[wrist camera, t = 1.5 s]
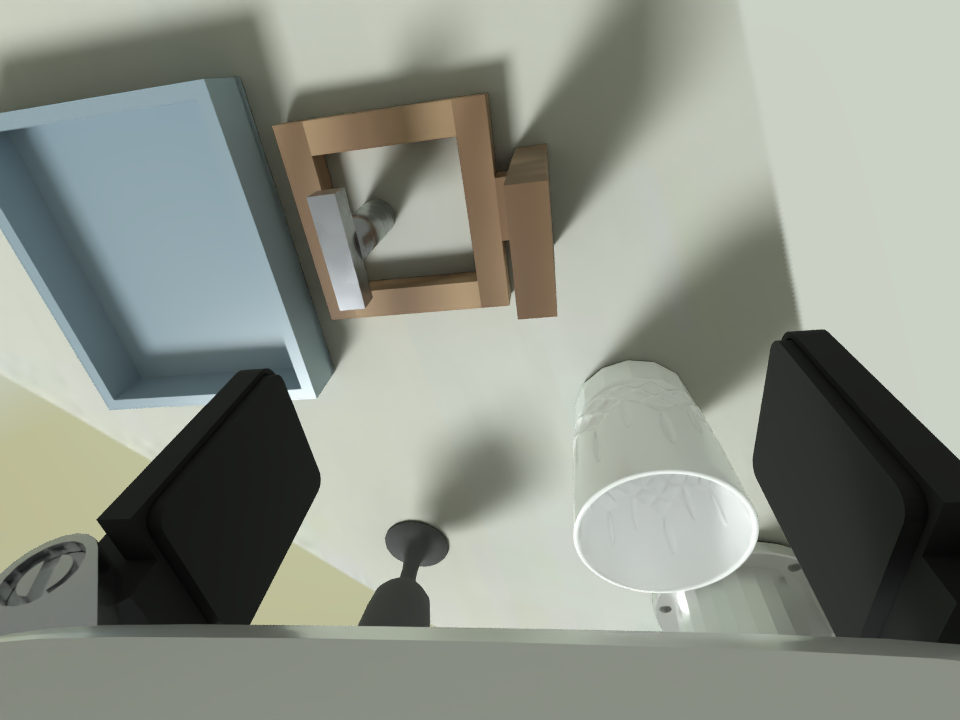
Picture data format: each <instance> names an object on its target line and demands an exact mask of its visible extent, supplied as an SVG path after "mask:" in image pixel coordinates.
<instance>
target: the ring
mask: <svg viewBox="0 0 960 720" xmlns="http://www.w3.org/2000/svg"><path fill="white" fill-rule="evenodd" d="M272 128H273V131H274V134H275V137H276V141H277V144H278V147H279V150H280V153H281V157H282V160H283V163H284V166H285V170H286V173H287V176H288V179H289V183H290V186H291V189H292V192H293V196H294V199H295V202H296V205H297V209H298V212H299V215H300V218H301V222H302V225H303V228H304V231H305V235H306V238H307V241H308V244H309V248H310V251H311V254H312V257H313V261H314V264H315V267H316V270H317V274H318V277H319V280H320V283H321V287H322V290H323V293H324V296H325V300H326V303H327V306H328V309H329V313H330V316H331V319H332V320H336V319H349V318H361V317H373V316H386V315H398V314H410V313H423V312H435V311H447V310H460V309H472V308H484V307H497V306H509V305H510V298H511V289H510V281H509V272H508V263H507V254H506V246H505V241H506V240H509V243H510V252H511V261H512V270H513V279H514V288H515V297H516V306H517V315H518V319H529V318H542V317H555V316H557V301H556V281H555V262H554V243H553V229H552V214H551V199H550V184H549V169H548V154H547V144H540V145H532V146H524V147H517V148H515V150H514V153H513V156H512V160H511V163H510V166H509V169H508V171H501V172H497V167H496V158H495V150H494V141H493V132H492V123H491V115H490V106H489V97H488V93H481V94H474V95H467V96H461V97H454V98H447V99H440V100H434V101H427V102H420V103H414V104H407V105H400V106H393V107H387V108H380V109H373V110H367V111H360V112H353V113H346V114H340V115H333V116H326V117H319V118H313V119H306V120H299V121H293V122H286V123H282V124H278V125H274V126H272ZM455 136H456V138H457V144H458V151H459V158H460V165H461V172H462V178H463V185H464V192H465V199H466V206H467V212H468V219H469V226H470V233H471V240H472V246H473V253H474V260H475V267H476V272H465V273H454V274H444V275H433V276H422V277H411V278H400V279H390V280H379V281H369V284H370V288H371V292H372V296H373V299H372V300H371V301H370V303H369V304H368V306H367V307H366V308H365V309H355V310H343V311H340V309H339V306H338V303H337V299H336V296H335V292H334V289H333V286H332V282H331V279H330V276H329V272H328V269H327V265H326V262H325V259H324V255H323V252H322V249H321V245H320V242H319V238H318V235H317V232H316V228H315V225H314V222H313V218H312V215H311V211H310V208H309V205H308V201H307V198H306V197H308V196H309V195H311V194H313V193H314V192H316V191H319V190H327V189H333V185H332V181H331V177H330V174H329V170H328V166H327V163H326V159H325V155H324V154H330V153H338V152H345V151H352V150H360V149H367V148H374V147H382V146H389V145H396V144H404V143H411V142H418V141H426V140H433V139H440V138H448V137H455Z"/></svg>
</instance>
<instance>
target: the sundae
mask: <svg viewBox="0 0 960 720" xmlns="http://www.w3.org/2000/svg"><path fill="white" fill-rule="evenodd" d="M385 542H386V546H387V549H388V550H389V552H390V553H391V554H392V555H393V556H394V557H395V558H397V559H398V560H400V561H402V562H404V563H403V569H402V572H401V576H400V577H399V578H395V579H391V580H389V581H387V582H385V583H384V584H382V585H381V586H379V587H378V588H377V590H376V592H375V593H374V595H373V597H372V598H371V600H370V602H369V604H368V605H367V607H366V610H365V612H364V614H363V616H362V618H361V620H360V622H359V625H358V626H386V627H430V601H429V597H428V596H427V594H426V593H425V591H424V590H423V588H422V587H421V586H420V585H419V584H418V583H417V582H416V575H417V571H418V568H419V566H431V565H435V564H437V563H439V562H440V561H441V560H443V559H444V558H445V556H446V555H447V552H448V543H447V541H446V539H445V537H444V536H443V535H442V534H441V533H440V532H439V531H438V530H436V529H435V528H433V527H432V526H429V525H427V524H423V523H420V522H404V523H400V524H397V525H395V526H393V527H392V528H391V529H390V530H389V531H388V532H387V534H386V537H385Z"/></svg>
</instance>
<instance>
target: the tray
mask: <svg viewBox="0 0 960 720" xmlns="http://www.w3.org/2000/svg"><path fill="white" fill-rule="evenodd" d="M0 229H1V230H2V232H3V234H4V235H5V237H6V239H7V240H8V242H9V244H10V245H11V247H12V249H13V250H14V252H15V254H16V255H17V257H18V259H19V260H20V262H21V264H22V265H23V267H24V269H25V270H26V272H27V274H28V275H29V277H30V279H31V280H32V282H33V284H34V285H35V287H36V289H37V290H38V292H39V294H40V295H41V297H42V299H43V300H44V302H45V304H46V305H47V307H48V309H49V310H50V312H51V314H52V315H53V317H54V319H55V320H56V322H57V324H58V325H59V327H60V329H61V330H62V332H63V334H64V335H65V337H66V339H67V340H68V342H69V344H70V345H71V347H72V349H73V350H74V352H75V354H76V355H77V357H78V359H79V360H80V362H81V364H82V365H83V367H84V368H85V370H86V372H87V373H88V375H89V377H90V378H91V380H92V382H93V383H94V385H95V387H96V388H97V390H98V392H99V393H100V395H101V397H102V398H103V400H104V402H105V403H106V405H107V407H108V408H109V410H119V409H137V408H155V407H173V406H191V405H207V403H208V402H209V401H210V400H211V399H212V398H213V397H214V396H215V395H216V394H217V393H218V392H219V391H220V390H221V389H222V388H223V387H224V386H225V385H226V384H227V383H228V381H229V380H230V379H231V378H232V377H233V376H234V375H235V374H236V373H237V372H239V371H240V370H249V369H263V368H269V369H271V370H272V371H273V372H274V373H275V374H276V375H280V376H281V377H282V378H283V380H284V382H285V385H286V387H287V390H288V392H289V395H290V398H291V400H299V399H317V397H318V396H319V394H320V393H321V391H322V390H323V388H324V387H325V385H326V384H327V382H328V381H329V379H330V378H331V376H332V375H333V373H334V372H335V371H334V368H333V365H332V361H331V358H330V355H329V352H328V349H327V346H326V343H325V340H324V337H323V334H322V330H321V327H320V324H319V321H318V318H317V315H316V312H315V309H314V306H313V302H312V299H311V296H310V293H309V290H308V287H307V284H306V281H305V278H304V275H303V271H302V268H301V265H300V262H299V259H298V256H297V253H296V250H295V247H294V243H293V240H292V237H291V234H290V231H289V228H288V225H287V222H286V219H285V216H284V212H283V209H282V206H281V203H280V200H279V197H278V194H277V191H276V188H275V185H274V181H273V178H272V175H271V172H270V169H269V166H268V163H267V160H266V157H265V153H264V150H263V147H262V144H261V141H260V138H259V135H258V132H257V129H256V126H255V122H254V119H253V116H252V113H251V110H250V107H249V104H248V101H247V98H246V95H245V91H244V88H243V85H242V82H241V79H240V77H225V78H209V79H200V80H194V81H188V82H182V83H176V84H170V85H164V86H158V87H152V88H146V89H140V90H134V91H128V92H122V93H117V94H111V95H105V96H99V97H93V98H87V99H81V100H75V101H69V102H63V103H57V104H51V105H45V106H39V107H33V108H27V109H21V110H15V111H9V112H4V113H0Z"/></svg>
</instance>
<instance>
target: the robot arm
mask: <svg viewBox="0 0 960 720" xmlns="http://www.w3.org/2000/svg"><path fill="white" fill-rule="evenodd" d="M753 469H754V473H755V476H756V479H757V481H758V483H759V485H760V487H761V489H762V491H763V493H764V495H765V497H766V499H767V501H768V503H769V505H770V507H771V509H772V511H773V513H774V515H775V517H776V519H777V521H778V522H779V524H780V526H781V528H782V530H783V532H784V534H785V536H786V538H787V540H788V542H789V544H790V546H791V548H790V547H786V546H782V545H779V544H773V543H764V542H757V543H756V545H755V547H754V549H753V551H752V553H751V554H750V556H749V557H748V558H747V560H746V561H745V562H744V563H743V564H742V565H741V566H740V567H739V568H737V569H736V570H735V571H734V572H732V573H731V574H729V575H728V576H726V577H724V578H723V579H721V580H719V581H717V582H714V583H712V584H709V585H707V586H704V587H701V588H697V589H693V590H689V591H683V592H675V593H653V599H652V602H653V608H654V614H655V617H656V620H657V623H658V625H659V627H660V628H661V629H662V631H663V632H655V631H610V630H564V629H508V628H451V627H386V626H310V625H307V626H306V625H250V623H251V621H252V620H253V618H254V616H255V614H256V612H257V610H258V608H259V606H260V604H261V602H262V600H263V598H264V596H265V594H266V592H267V590H268V588H269V586H270V584H271V582H272V580H273V579H274V576H275V575H276V573H277V571H278V569H279V567H280V565H281V563H282V561H283V559H284V557H285V555H286V553H287V551H288V549H289V547H290V545H291V543H292V541H293V539H294V537H295V536H296V534H297V532H298V530H299V528H300V526H301V524H302V522H303V520H304V518H305V516H306V514H307V512H308V510H309V508H310V506H311V504H312V502H313V500H314V498H315V496H316V494H317V493H318V490H319V488H320V481H321V478H320V472H319V469H318V467H317V464H316V462H315V459H314V457H313V454H312V451H311V449H310V446H309V444H308V441H307V439H306V436H305V433H304V431H303V428H302V426H301V423H300V421H299V418H298V416H297V413H296V410H295V408H294V405H293V403H292V400H291V398H290V395H289V392H288V390H287V387H286V385H285V382H284V380H283V378H282V377H281V376H280V375H276V374H275V373H274V372H273V371H272V370H271V369H269V368H263V369H249V370H240V371H239V372H237V373H236V374H235V375H234V376H233V377H232V378H231V379H230V380H229V381H228V383H227V384H226V385H225V386H224V387H223V388H222V389H221V390H220V391H219V392H218V393H217V394H216V395H215V396H214V397H213V398H212V399H211V400H210V401H209V402H208V403H207V405H206V406H205V407H204V408H203V409H202V410H201V411H200V412H199V413H198V414H197V415H196V416H195V417H194V418H193V419H192V420H191V421H190V422H189V423H188V424H187V425H186V426H185V428H184V429H183V430H182V431H181V432H180V433H179V434H178V435H177V436H176V437H175V438H174V439H173V440H172V441H171V442H170V443H169V444H168V445H167V446H166V447H165V448H164V449H163V451H162V452H161V453H160V454H159V455H158V456H157V457H156V458H155V459H154V460H153V461H152V462H151V463H150V464H149V465H148V466H147V467H146V469H144V471H142V473H141V474H140V475H139V476H138V477H137V478H136V479H135V480H134V481H133V482H132V483H131V484H130V485H129V486H128V487H127V488H126V489H125V490H124V491H123V492H122V494H121V495H120V496H119V497H118V498H117V499H116V500H115V501H114V502H113V503H112V504H111V505H110V506H109V507H108V508H107V509H106V510H105V511H104V512H103V513H102V515H100V516H99V518H98V519H97V521H98V523H99V524H100V525H101V527H102V528H103V529H104V531H105V532H106V535H105V536H104V537H103V538H102V539H101V541H100V542H99V543H98V542H97V540H96V539H95V538H94V537H92V536H90V535H89V534H72V535H67V536H62V537H59V538H57V539H54V540H52V541H49V542H46V543H44V544H42V545H40V546H39V547H37V548H35V549H33V550H31V551H29V552H28V553H26V554H25V555H24V556H22V557H21V558H19V559H18V560H16V561H15V562H13V563H12V564H11V565H10V566H9V567H8V568H7V569H5V570H4V571H3V572H2V573H1V574H0V720H960V460H959V459H958V458H957V457H956V456H955V455H954V454H953V453H952V452H951V451H950V450H949V449H948V448H947V447H946V446H945V445H944V444H943V443H941V442H940V441H939V440H938V439H937V438H936V437H935V436H934V435H933V434H932V433H931V432H930V431H929V430H928V429H927V428H926V427H925V426H924V425H923V424H922V423H921V422H920V421H919V420H918V419H917V418H916V417H915V416H914V415H913V414H912V413H911V412H910V411H909V410H908V409H907V408H906V407H905V406H903V404H902V403H901V402H899V401H898V400H897V399H896V398H895V397H894V396H893V395H892V394H891V393H890V392H889V391H888V390H887V389H886V388H885V387H884V386H883V385H882V384H881V383H880V382H879V381H878V380H877V379H876V378H875V377H874V376H873V375H872V374H871V373H870V372H869V371H868V370H867V369H866V368H865V367H864V366H863V365H862V364H860V363H859V362H858V361H857V360H856V359H855V358H854V357H853V356H852V355H851V354H850V353H849V352H848V351H847V350H846V349H845V348H844V347H843V346H842V345H841V344H840V343H839V342H838V341H837V340H836V339H835V338H834V337H833V336H832V335H831V334H830V333H829V332H827V331H826V330H807V331H793V332H787V333H785V334H784V336H783V337H782V340H781V341H774V342H773V344H772V346H771V349H770V355H769V361H768V367H767V374H766V380H765V386H764V392H763V398H762V404H761V410H760V416H759V423H758V429H757V435H756V441H755V447H754V453H753Z"/></svg>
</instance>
